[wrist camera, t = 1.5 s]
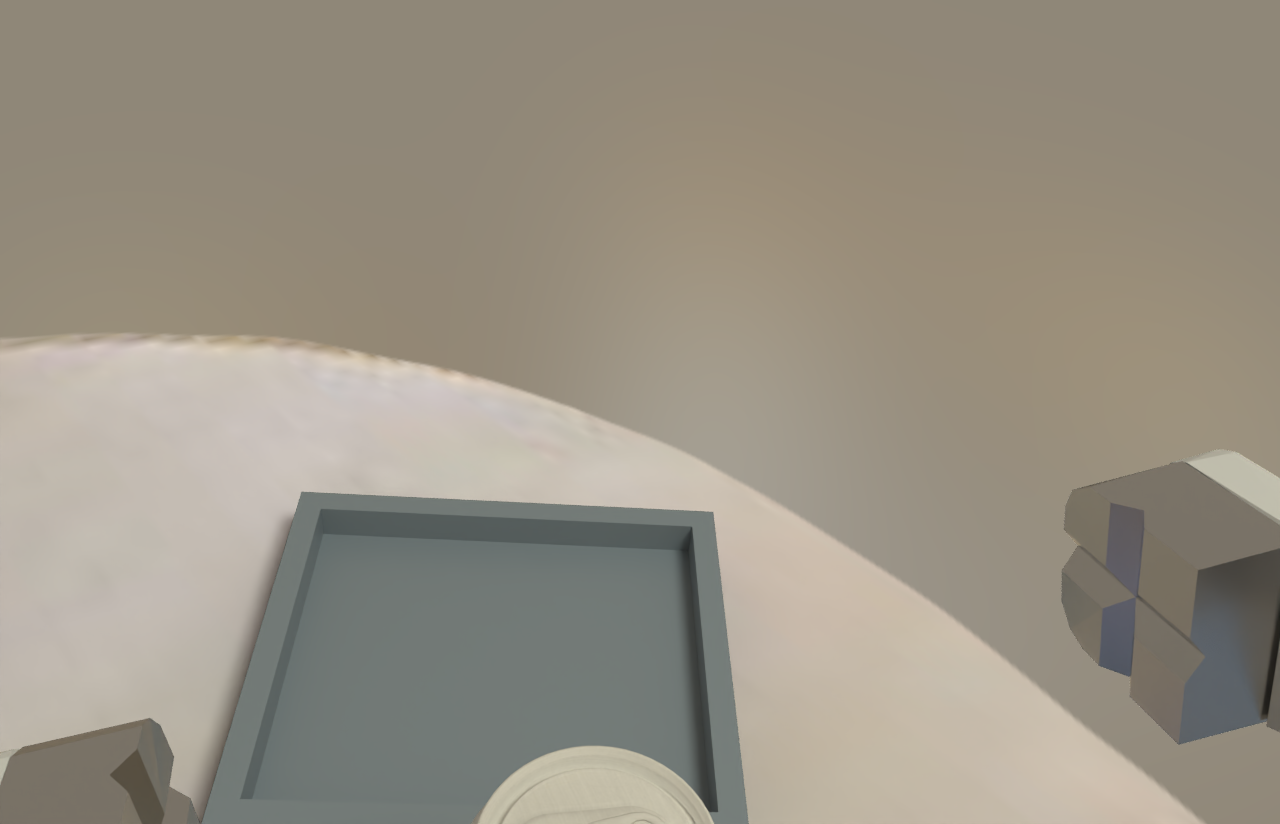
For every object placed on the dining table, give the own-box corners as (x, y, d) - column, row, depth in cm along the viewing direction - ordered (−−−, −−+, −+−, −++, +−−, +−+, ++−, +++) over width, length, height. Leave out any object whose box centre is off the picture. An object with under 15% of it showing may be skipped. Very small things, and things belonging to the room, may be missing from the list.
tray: (211, 867, 39) (200, 825, 37) (306, 533, 51) (301, 491, 50) (739, 879, 40) (750, 839, 38) (706, 551, 53) (713, 511, 51)
